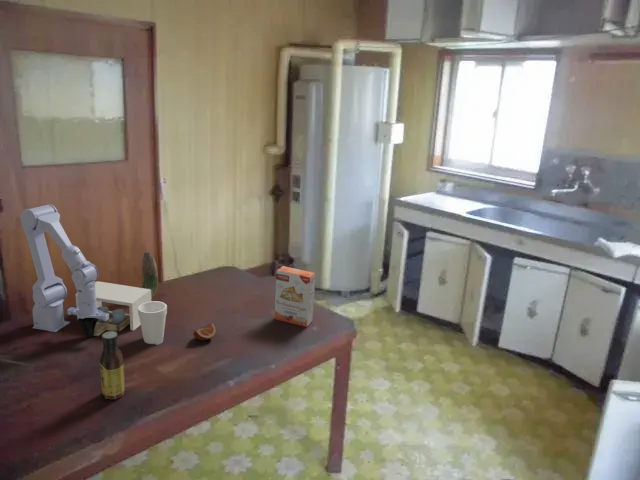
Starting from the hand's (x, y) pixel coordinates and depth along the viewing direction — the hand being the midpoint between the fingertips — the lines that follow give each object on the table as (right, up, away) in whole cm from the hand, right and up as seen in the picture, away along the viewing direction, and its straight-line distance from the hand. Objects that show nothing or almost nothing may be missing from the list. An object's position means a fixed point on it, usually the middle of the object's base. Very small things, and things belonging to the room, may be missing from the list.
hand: (89, 335), depth 183 cm
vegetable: (+10, +9, +35) cm, 37 cm away
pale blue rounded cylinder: (-1, +4, +12) cm, 13 cm away
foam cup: (+22, -2, +2) cm, 22 cm away
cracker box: (+69, +1, +23) cm, 73 cm away
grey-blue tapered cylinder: (+6, +3, +11) cm, 13 cm away
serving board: (+2, +2, +9) cm, 9 cm away
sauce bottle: (+20, -12, -29) cm, 37 cm away
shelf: (+3, +3, +15) cm, 15 cm away
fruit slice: (+39, -2, +5) cm, 39 cm away
